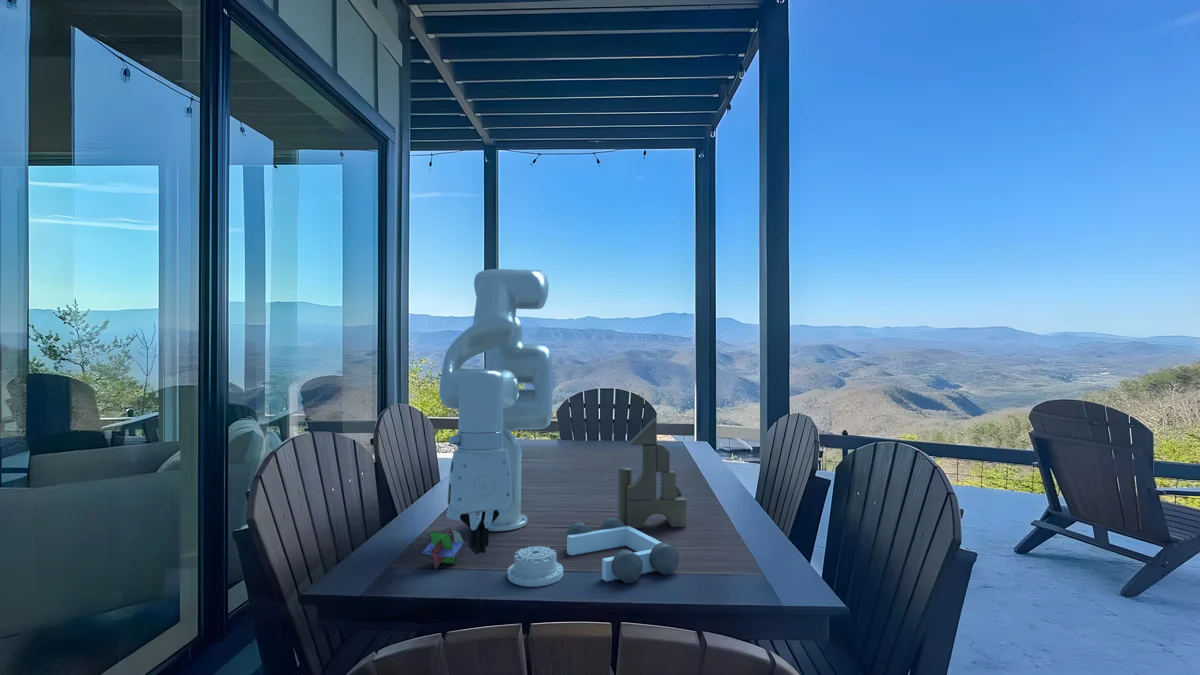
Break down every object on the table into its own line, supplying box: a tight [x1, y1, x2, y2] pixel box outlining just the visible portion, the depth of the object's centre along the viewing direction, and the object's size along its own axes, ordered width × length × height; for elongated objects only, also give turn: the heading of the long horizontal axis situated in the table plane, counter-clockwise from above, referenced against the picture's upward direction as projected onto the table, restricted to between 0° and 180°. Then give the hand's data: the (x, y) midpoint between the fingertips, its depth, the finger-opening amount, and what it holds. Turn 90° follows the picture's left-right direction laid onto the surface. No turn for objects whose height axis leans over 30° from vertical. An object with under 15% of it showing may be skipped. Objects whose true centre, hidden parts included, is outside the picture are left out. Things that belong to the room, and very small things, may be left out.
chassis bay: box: [565, 517, 680, 584], centre depth 107 cm, size 21×14×5 cm
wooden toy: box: [617, 418, 687, 529], centre depth 132 cm, size 16×7×25 cm, turn 96°
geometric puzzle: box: [420, 527, 465, 570], centre depth 104 cm, size 7×7×8 cm
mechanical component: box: [507, 545, 564, 588], centre depth 99 cm, size 10×4×10 cm
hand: (478, 551), depth 93 cm, fingers closed
